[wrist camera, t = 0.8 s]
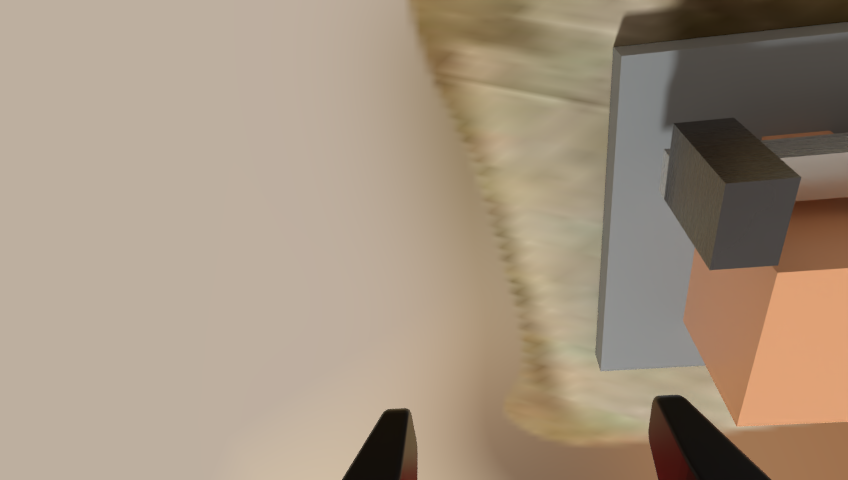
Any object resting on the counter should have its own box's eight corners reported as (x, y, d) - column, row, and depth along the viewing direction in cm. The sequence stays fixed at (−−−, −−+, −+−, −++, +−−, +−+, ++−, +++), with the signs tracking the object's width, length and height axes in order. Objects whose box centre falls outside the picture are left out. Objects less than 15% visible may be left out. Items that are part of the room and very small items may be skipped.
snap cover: (916, 122, 18) (1062, 202, 13) (848, 310, 22) (942, 417, 17) (712, 141, 18) (790, 223, 14) (682, 320, 22) (737, 426, 18)
